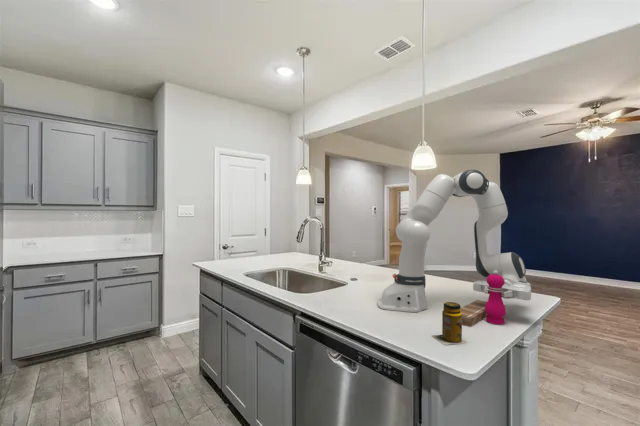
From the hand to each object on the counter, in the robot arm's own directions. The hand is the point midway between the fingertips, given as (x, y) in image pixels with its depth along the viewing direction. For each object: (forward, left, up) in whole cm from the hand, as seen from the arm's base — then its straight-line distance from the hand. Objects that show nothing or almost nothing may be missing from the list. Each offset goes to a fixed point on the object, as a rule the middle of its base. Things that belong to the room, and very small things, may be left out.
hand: (494, 293), depth 117 cm
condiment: (-22, -18, -12) cm, 31 cm away
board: (-5, +7, -11) cm, 14 cm away
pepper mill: (0, +1, -11) cm, 12 cm away
